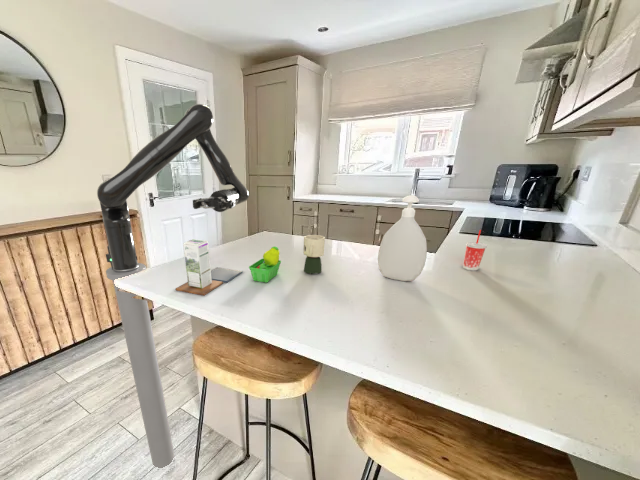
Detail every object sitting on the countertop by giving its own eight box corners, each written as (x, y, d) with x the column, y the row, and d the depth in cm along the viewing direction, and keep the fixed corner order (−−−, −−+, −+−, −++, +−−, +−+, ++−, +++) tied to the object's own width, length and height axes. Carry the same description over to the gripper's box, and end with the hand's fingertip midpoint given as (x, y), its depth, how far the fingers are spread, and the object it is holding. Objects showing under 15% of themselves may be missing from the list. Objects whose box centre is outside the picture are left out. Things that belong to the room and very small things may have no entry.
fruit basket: (262, 271, 113) (262, 241, 109) (284, 274, 110) (285, 243, 105) (248, 281, 104) (247, 249, 99) (272, 285, 100) (272, 251, 96)
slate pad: (200, 278, 108) (200, 276, 107) (217, 268, 117) (217, 267, 117) (227, 282, 103) (227, 281, 103) (242, 272, 112) (242, 271, 112)
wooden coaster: (175, 290, 98) (175, 288, 98) (196, 278, 107) (195, 277, 107) (204, 295, 94) (203, 293, 93) (223, 283, 103) (222, 281, 102)
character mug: (306, 267, 116) (307, 233, 111) (325, 268, 114) (327, 234, 109) (299, 276, 107) (300, 240, 102) (319, 278, 105) (321, 241, 100)
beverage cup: (465, 264, 115) (475, 227, 109) (484, 268, 110) (494, 230, 105) (456, 267, 112) (466, 229, 107) (475, 272, 107) (485, 232, 102)
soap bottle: (424, 278, 103) (441, 194, 92) (419, 285, 97) (436, 197, 86) (379, 270, 111) (390, 192, 101) (372, 277, 105) (383, 195, 95)
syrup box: (212, 283, 102) (208, 240, 96) (201, 289, 97) (197, 244, 91) (198, 280, 104) (194, 238, 98) (187, 286, 99) (182, 242, 94)
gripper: (204, 189, 116) (185, 193, 101) (240, 190, 112) (226, 194, 98) (206, 210, 119) (187, 217, 104) (241, 210, 115) (227, 218, 101)
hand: (206, 206), depth 101 cm, fingers open, 8 cm apart
